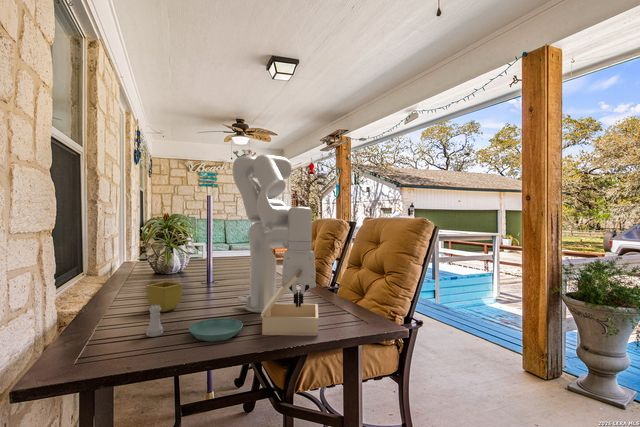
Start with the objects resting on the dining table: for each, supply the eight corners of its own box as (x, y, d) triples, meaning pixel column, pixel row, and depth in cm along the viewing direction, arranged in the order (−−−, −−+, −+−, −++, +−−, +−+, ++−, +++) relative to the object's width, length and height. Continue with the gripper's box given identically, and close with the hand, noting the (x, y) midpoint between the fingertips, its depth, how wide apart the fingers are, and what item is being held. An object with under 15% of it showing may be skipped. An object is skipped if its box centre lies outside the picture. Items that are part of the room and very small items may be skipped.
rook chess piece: (151, 338, 94) (152, 308, 94) (142, 335, 96) (143, 306, 96) (166, 333, 97) (167, 305, 98) (157, 330, 100) (157, 303, 100)
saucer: (200, 326, 106) (200, 317, 106) (248, 327, 105) (248, 318, 105) (179, 343, 91) (179, 333, 91) (234, 345, 90) (234, 335, 91)
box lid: (262, 317, 98) (260, 315, 98) (269, 302, 115) (267, 301, 115) (301, 274, 99) (299, 272, 99) (303, 265, 115) (301, 264, 115)
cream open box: (262, 334, 98) (262, 317, 98) (269, 318, 114) (269, 303, 114) (318, 335, 99) (318, 318, 99) (317, 318, 115) (317, 303, 115)
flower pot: (144, 311, 119) (145, 285, 119) (164, 305, 127) (165, 281, 127) (163, 314, 116) (164, 287, 116) (183, 308, 124) (183, 283, 124)
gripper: (274, 247, 103) (272, 309, 102) (324, 248, 103) (323, 309, 103) (276, 245, 110) (275, 302, 110) (323, 246, 111) (322, 303, 110)
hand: (298, 306), depth 106 cm, fingers closed
